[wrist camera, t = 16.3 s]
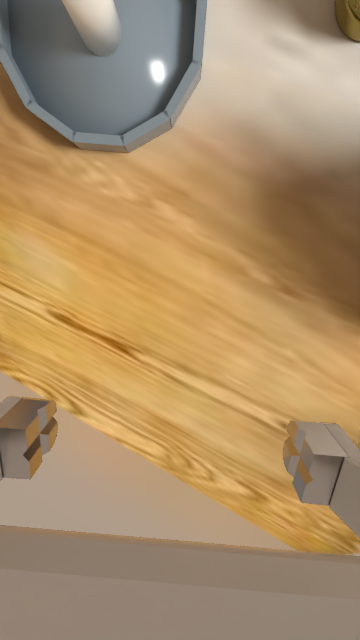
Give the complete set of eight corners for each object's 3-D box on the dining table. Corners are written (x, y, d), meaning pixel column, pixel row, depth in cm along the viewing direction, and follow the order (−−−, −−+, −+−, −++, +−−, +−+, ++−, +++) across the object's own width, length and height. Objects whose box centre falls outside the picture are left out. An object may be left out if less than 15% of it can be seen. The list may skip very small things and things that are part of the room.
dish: (15, 143, 33) (2, 136, 30) (-6, -110, 26) (-26, -145, 24) (194, 158, 33) (194, 151, 30) (214, -93, 26) (217, -126, 24)
